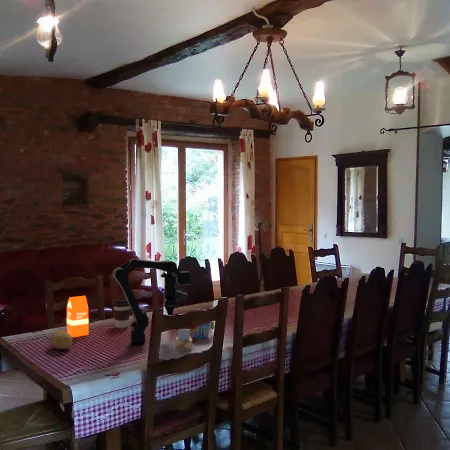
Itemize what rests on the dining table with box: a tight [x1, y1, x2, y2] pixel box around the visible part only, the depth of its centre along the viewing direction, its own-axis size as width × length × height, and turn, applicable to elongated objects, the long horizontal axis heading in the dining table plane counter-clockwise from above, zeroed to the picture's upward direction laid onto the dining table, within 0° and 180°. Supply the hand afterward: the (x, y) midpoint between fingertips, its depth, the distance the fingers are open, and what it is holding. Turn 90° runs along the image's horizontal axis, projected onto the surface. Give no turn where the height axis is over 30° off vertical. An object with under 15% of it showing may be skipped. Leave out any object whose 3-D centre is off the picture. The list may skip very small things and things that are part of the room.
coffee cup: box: [112, 298, 131, 329], centre depth 281 cm, size 10×10×15 cm
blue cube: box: [177, 329, 191, 340], centre depth 241 cm, size 5×5×5 cm
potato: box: [50, 329, 73, 350], centre depth 238 cm, size 10×14×8 cm
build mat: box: [172, 343, 196, 352], centre depth 241 cm, size 10×10×1 cm
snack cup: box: [190, 321, 215, 340], centre depth 260 cm, size 16×10×10 cm
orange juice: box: [66, 295, 89, 338], centre depth 263 cm, size 8×9×20 cm
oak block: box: [175, 336, 193, 350], centre depth 241 cm, size 7×7×4 cm
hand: (169, 316), depth 254 cm, fingers open, 9 cm apart
